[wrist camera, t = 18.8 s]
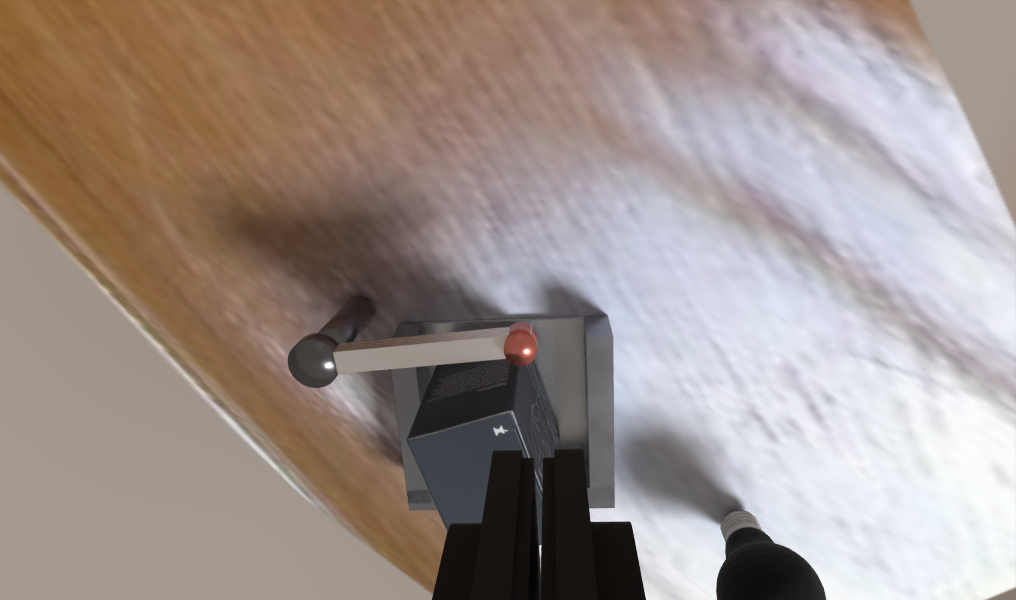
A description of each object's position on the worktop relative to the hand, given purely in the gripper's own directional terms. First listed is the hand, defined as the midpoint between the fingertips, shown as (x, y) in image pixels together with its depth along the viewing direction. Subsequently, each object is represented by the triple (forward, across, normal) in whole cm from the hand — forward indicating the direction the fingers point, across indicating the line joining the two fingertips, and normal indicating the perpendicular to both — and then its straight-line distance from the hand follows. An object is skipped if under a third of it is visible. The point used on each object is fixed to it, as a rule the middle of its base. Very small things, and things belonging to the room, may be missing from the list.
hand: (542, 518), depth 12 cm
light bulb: (+27, -12, +21) cm, 36 cm away
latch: (+20, +7, +5) cm, 21 cm away
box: (+27, +3, +11) cm, 29 cm away
